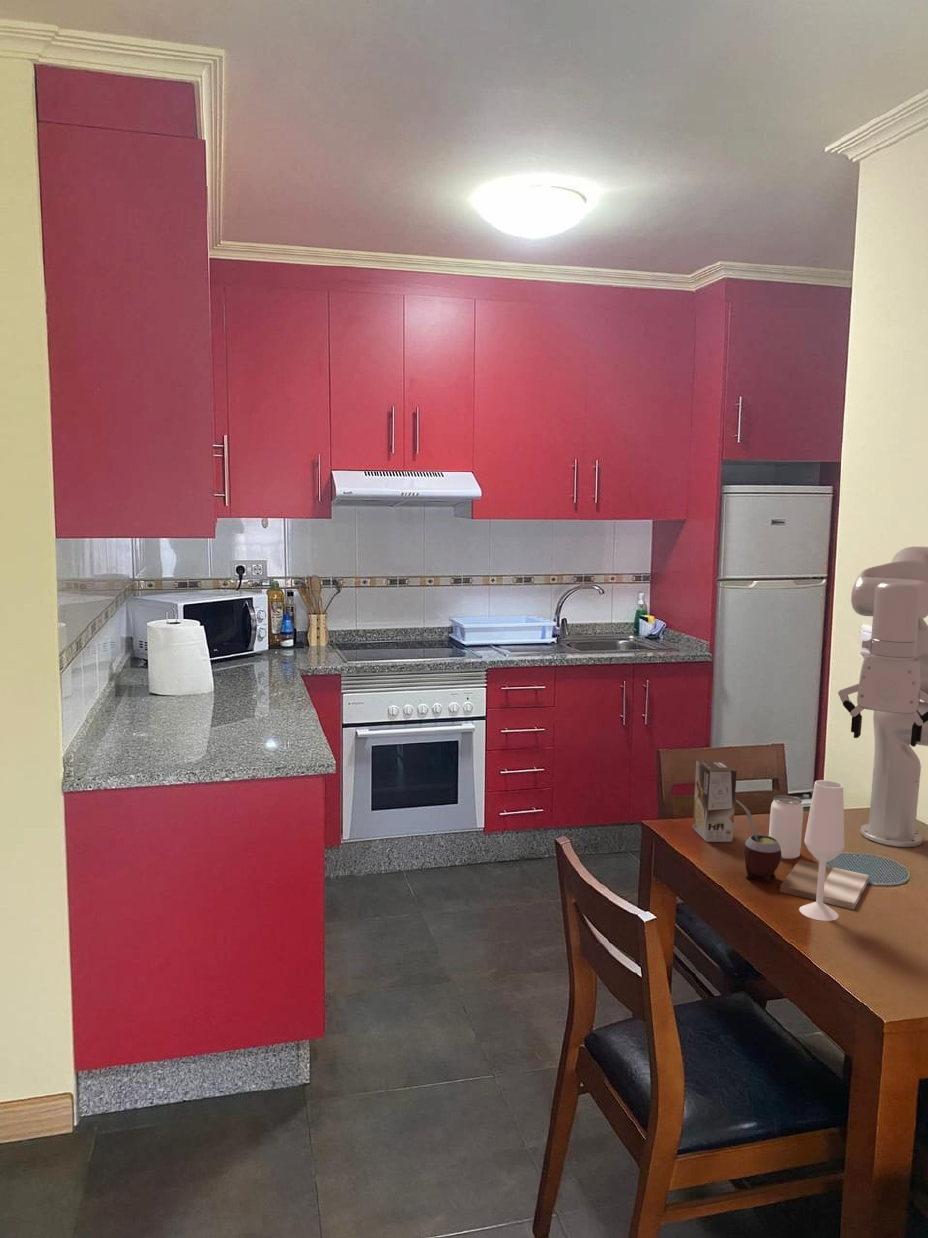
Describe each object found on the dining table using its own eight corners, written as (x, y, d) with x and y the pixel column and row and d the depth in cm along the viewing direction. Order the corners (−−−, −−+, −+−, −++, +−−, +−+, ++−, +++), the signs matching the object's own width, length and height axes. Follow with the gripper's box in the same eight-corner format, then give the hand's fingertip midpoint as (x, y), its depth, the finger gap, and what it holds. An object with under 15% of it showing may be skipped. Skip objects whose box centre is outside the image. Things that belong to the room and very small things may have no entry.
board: (799, 865, 186) (799, 859, 186) (868, 881, 179) (869, 875, 179) (779, 891, 172) (780, 885, 172) (853, 909, 165) (854, 903, 165)
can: (794, 862, 187) (798, 806, 186) (763, 854, 191) (767, 799, 190) (803, 853, 192) (808, 799, 191) (773, 846, 196) (777, 792, 195)
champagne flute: (845, 914, 163) (856, 785, 160) (826, 924, 159) (837, 792, 156) (811, 901, 168) (821, 776, 165) (791, 910, 164) (801, 782, 161)
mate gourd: (786, 884, 176) (791, 809, 174) (749, 886, 174) (754, 811, 173) (765, 869, 183) (770, 797, 181) (730, 871, 182) (735, 799, 180)
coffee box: (733, 842, 198) (738, 771, 196) (705, 842, 197) (709, 771, 195) (717, 827, 207) (722, 759, 205) (690, 828, 206) (695, 759, 204)
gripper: (838, 647, 167) (831, 737, 169) (943, 657, 158) (935, 753, 160) (846, 642, 173) (839, 730, 175) (947, 652, 164) (939, 744, 166)
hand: (884, 740), depth 167 cm, fingers open, 9 cm apart
